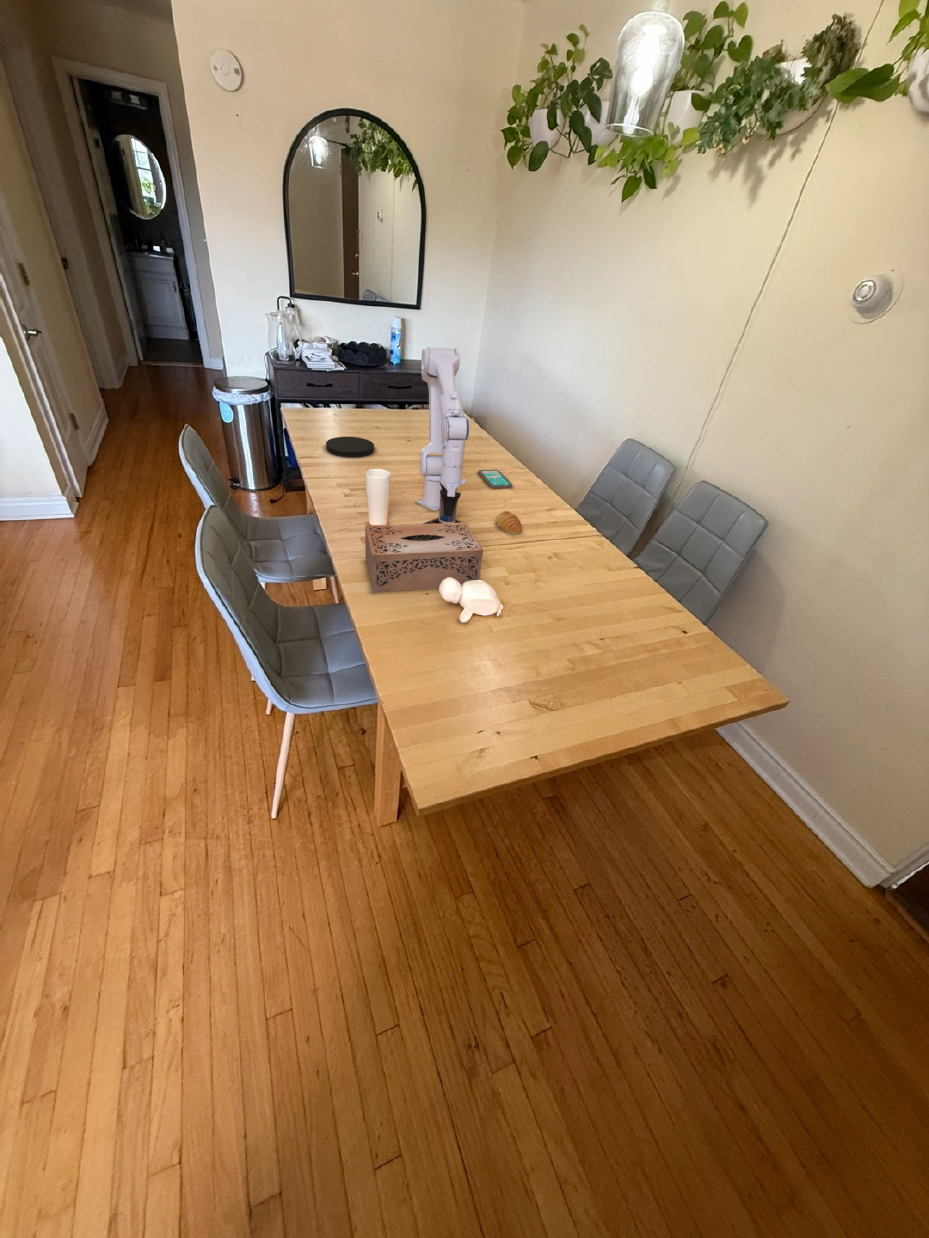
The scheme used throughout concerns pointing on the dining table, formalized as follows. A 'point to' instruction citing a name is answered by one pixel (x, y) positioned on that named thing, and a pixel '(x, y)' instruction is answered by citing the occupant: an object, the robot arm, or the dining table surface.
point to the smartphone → (495, 479)
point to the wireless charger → (350, 447)
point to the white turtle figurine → (471, 597)
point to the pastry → (509, 522)
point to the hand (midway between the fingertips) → (448, 510)
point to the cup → (446, 518)
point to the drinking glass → (377, 495)
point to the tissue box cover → (420, 555)
